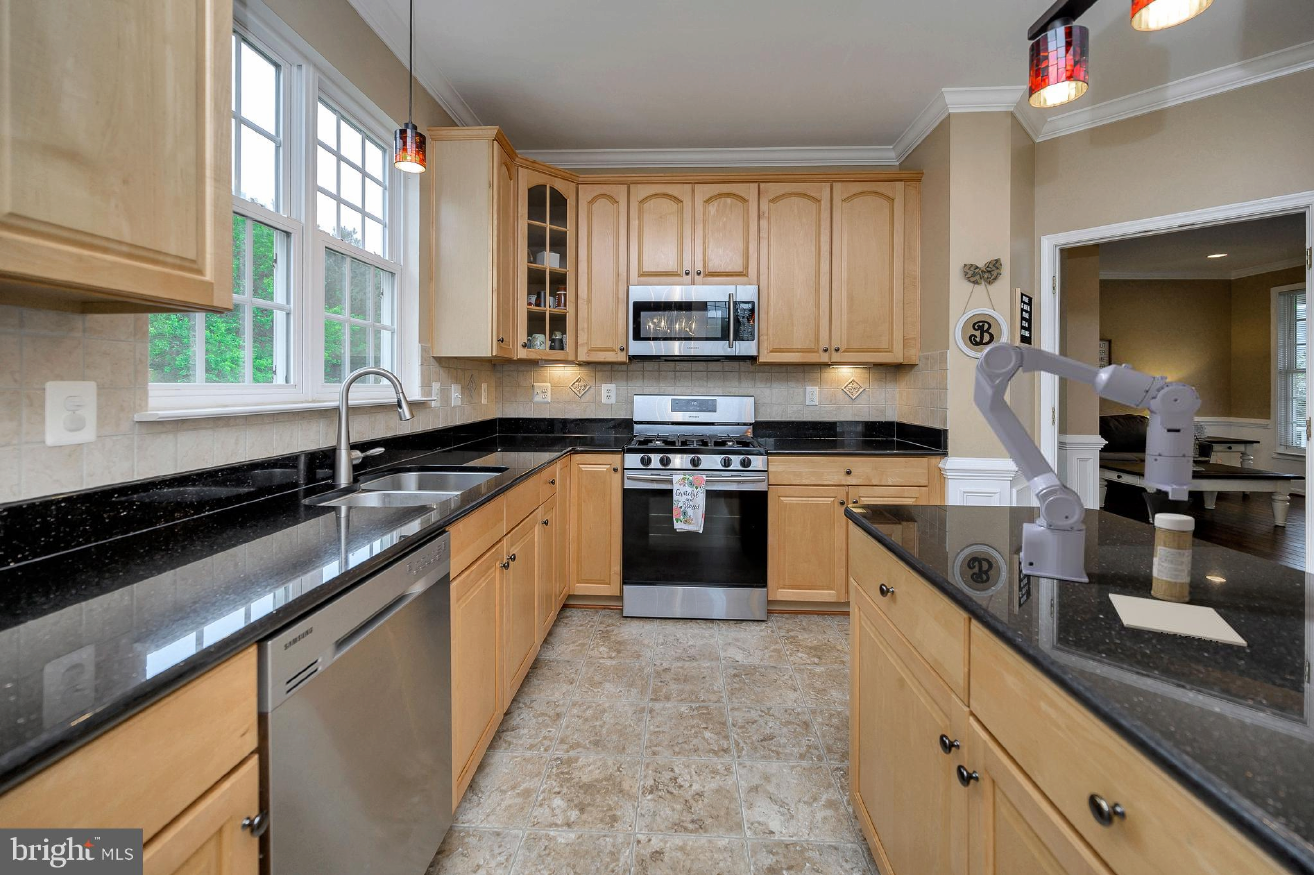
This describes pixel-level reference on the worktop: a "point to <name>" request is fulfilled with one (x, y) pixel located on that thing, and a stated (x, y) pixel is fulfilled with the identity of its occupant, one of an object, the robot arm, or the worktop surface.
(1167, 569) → the sprinkles bottle
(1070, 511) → the robot arm
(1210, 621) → the silicone mat
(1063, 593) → the worktop surface
